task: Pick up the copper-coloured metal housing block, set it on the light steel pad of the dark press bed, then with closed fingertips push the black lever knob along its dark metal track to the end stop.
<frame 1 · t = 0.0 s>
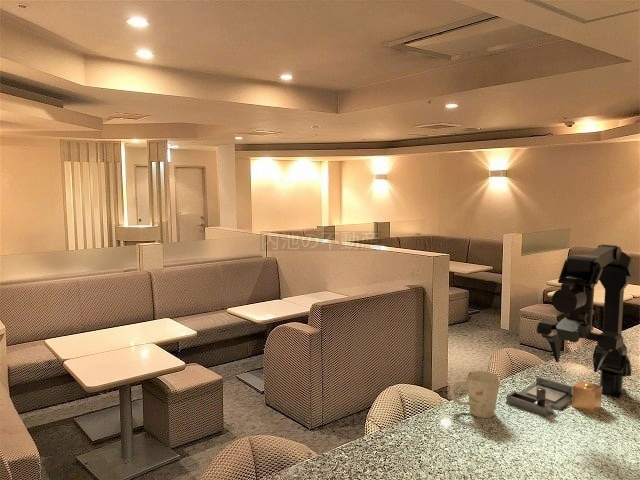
hand: (576, 366, 125), 15 cm above the countertop, fingers open, 9 cm apart
lever track: (529, 406, 136), on the countertop
housing: (586, 407, 136), on the countertop
lever: (540, 398, 133), point 3 cm above the countertop, slide at 0.0 cm
press bed: (546, 397, 142), on the countertop
mug: (473, 412, 133), on the countertop
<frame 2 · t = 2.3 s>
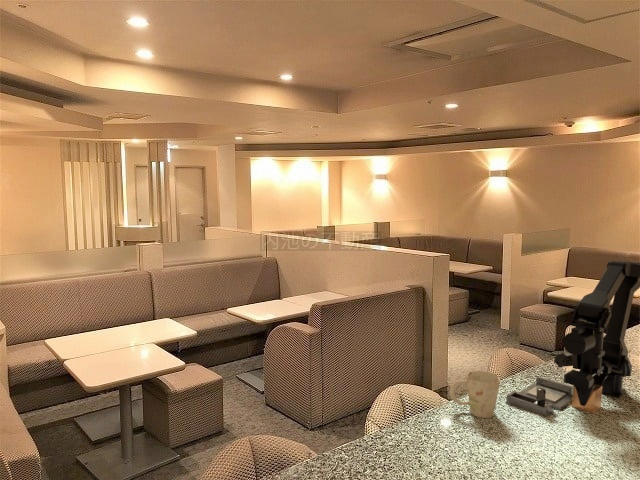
hand: (586, 402, 136), 1 cm above the countertop, fingers closed on housing, 5 cm apart
housing: (586, 406, 136), on the countertop, touching gripper
everything else where it was.
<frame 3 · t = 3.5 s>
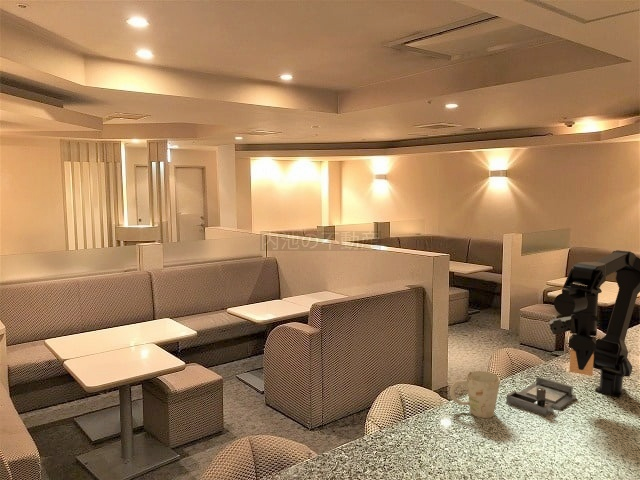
hand: (581, 366, 136), 11 cm above the countertop, fingers closed on housing, 5 cm apart
housing: (581, 370, 136), point 10 cm above the countertop, touching gripper
everything else where it was.
when the fingers open (4 cm above the countertop, at t = 5.1 s): housing drops 1 cm, resting on press bed.
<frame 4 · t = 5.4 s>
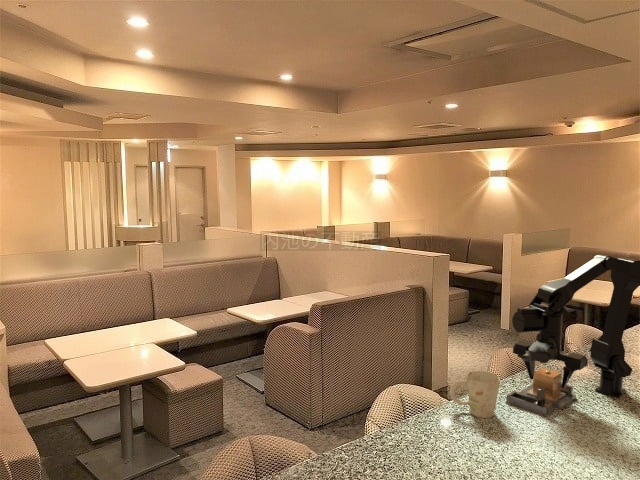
hand: (547, 383, 142), 4 cm above the countertop, fingers open, 9 cm apart
housing: (546, 392, 142), point 1 cm above the countertop, touching press bed
everything else where it was.
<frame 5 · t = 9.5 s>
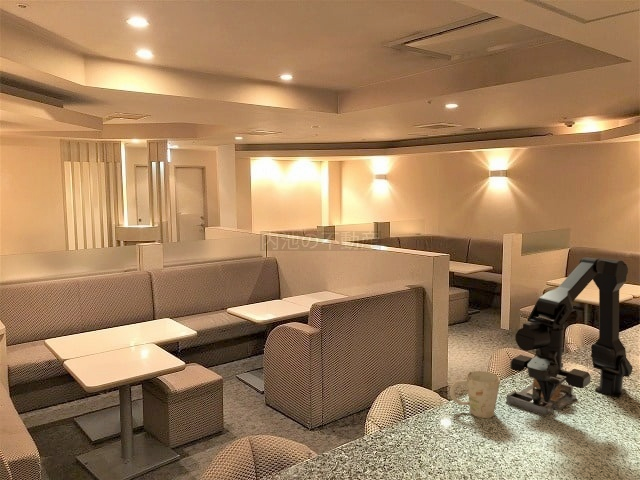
hand: (547, 401, 132), 3 cm above the countertop, fingers closed
lever: (536, 397, 134), point 3 cm above the countertop, slide at 1.1 cm, touching gripper
everything else where it was.
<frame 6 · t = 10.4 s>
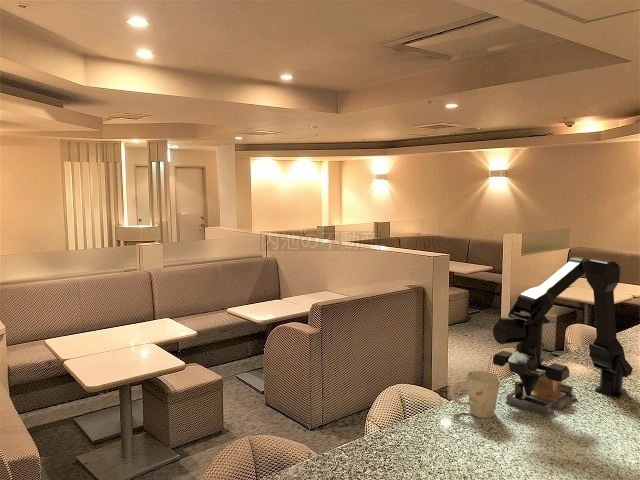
hand: (528, 395, 136), 3 cm above the countertop, fingers closed
lever: (518, 391, 138), point 3 cm above the countertop, slide at 6.1 cm, touching gripper
everything else where it was.
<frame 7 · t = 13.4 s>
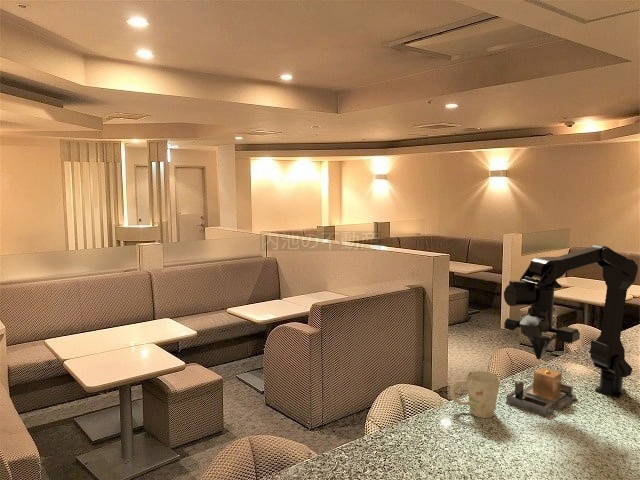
hand: (538, 358, 139), 12 cm above the countertop, fingers closed
lever: (518, 391, 138), point 3 cm above the countertop, slide at 6.0 cm
everything else where it was.
at the end: housing 0.0 cm off-centre on the press bed, point 1.3 cm above the press bed's base; housing tilted 0°; lever slide at 6.0 cm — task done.
